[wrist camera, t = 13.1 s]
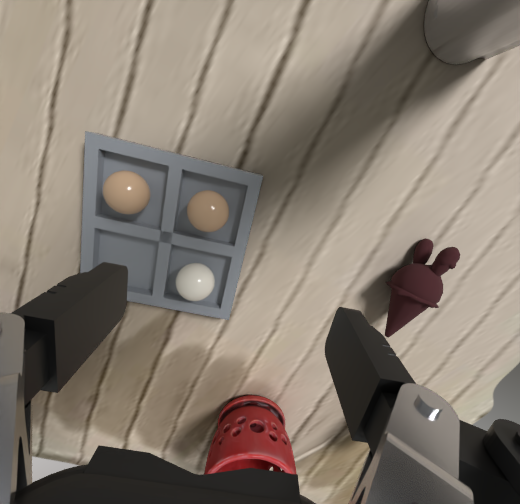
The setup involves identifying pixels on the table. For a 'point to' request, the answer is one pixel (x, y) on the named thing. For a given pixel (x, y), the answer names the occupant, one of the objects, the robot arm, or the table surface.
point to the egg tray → (165, 223)
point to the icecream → (418, 285)
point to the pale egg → (195, 282)
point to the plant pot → (250, 438)
